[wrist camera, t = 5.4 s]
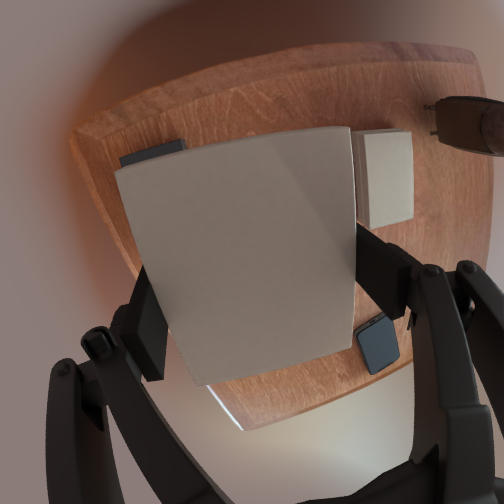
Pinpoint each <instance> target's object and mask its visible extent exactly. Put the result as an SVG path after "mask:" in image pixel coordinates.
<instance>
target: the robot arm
mask: <svg viewBox="0 0 504 504" xmlns="http://www.w3.org/2000/svg"><path fill="white" fill-rule="evenodd" d="M356 281H357V283H358V284H359V285H360V286H361V287H362V288H363V289H364V290H365V292H366V293H367V294H368V295H369V296H370V297H371V298H372V300H373V301H374V302H375V303H376V304H377V305H378V306H379V308H380V309H381V310H382V311H383V312H384V313H385V315H386V316H387V317H388V318H389V319H390V321H393V320H395V319H398V318H400V317H403V316H404V314H405V309H406V305H407V306H408V308H409V309H410V310H411V313H410V318H409V322H408V327H407V330H409V328H410V326H411V335H412V347H413V363H414V386H415V387H414V391H415V407H414V436H413V447H412V451H411V453H410V456H409V460H408V461H406V462H404V463H402V464H401V465H399V466H397V467H395V468H393V469H391V470H388V471H386V472H384V473H382V474H381V475H380V476H378V477H377V478H375V479H374V480H373V481H371V482H370V483H368V484H367V485H366V486H364V487H363V488H361V489H360V490H358V491H357V492H355V493H354V494H352V495H349V496H344V497H336V498H327V499H317V500H308V501H305V502H301V503H297V504H504V479H502V478H498V477H495V460H494V459H495V457H494V440H493V428H492V421H491V420H492V419H491V413H490V409H489V407H488V406H487V405H481V404H480V402H479V397H478V391H477V385H476V379H475V374H474V369H473V365H474V367H475V369H476V371H477V373H478V375H479V377H480V380H481V382H482V384H483V386H484V389H485V391H486V393H487V396H488V398H489V401H490V403H491V405H492V408H493V411H494V413H495V416H496V418H497V421H498V424H499V427H500V430H501V433H502V435H503V438H504V294H503V293H502V292H501V290H500V289H499V288H498V287H497V285H496V284H495V283H494V282H493V281H492V280H491V279H490V277H489V276H488V275H487V274H486V273H485V272H484V271H483V270H482V268H481V267H480V266H479V265H477V264H476V263H474V262H472V261H469V260H463V261H459V262H458V263H457V267H456V271H450V272H445V271H444V270H443V269H442V268H441V267H439V266H437V265H434V264H424V265H423V264H422V263H420V262H419V261H418V260H416V259H415V258H414V257H412V256H411V255H409V254H408V253H407V252H406V251H404V250H403V249H402V248H400V247H399V246H398V245H395V244H392V243H385V242H383V241H382V240H381V239H379V238H378V237H377V236H375V235H374V234H372V233H371V232H370V231H368V230H367V229H366V228H364V227H363V226H361V225H360V224H359V223H357V222H356ZM472 302H474V304H475V309H473V308H472V306H471V305H472ZM167 334H168V324H167V322H166V319H165V317H164V315H163V312H162V310H161V308H160V305H159V303H158V300H157V298H156V295H155V293H154V290H153V288H152V285H151V283H150V281H149V279H148V276H147V274H146V271H145V268H144V265H142V268H141V270H140V273H139V276H138V279H137V282H136V284H135V287H134V290H133V294H132V296H131V299H130V302H129V304H126V305H121V306H120V307H119V308H118V309H117V311H116V312H115V314H114V316H113V321H112V322H111V326H110V328H109V329H108V328H107V327H104V326H99V327H95V328H92V329H91V330H89V331H88V332H86V334H85V335H84V336H83V337H82V339H81V346H82V347H83V349H84V350H85V352H86V353H87V355H88V356H89V358H90V359H91V360H89V361H87V362H84V363H81V364H79V365H77V364H76V363H75V361H73V360H72V359H70V358H65V359H62V360H60V361H58V362H57V363H56V364H55V365H54V367H53V368H52V371H51V374H50V382H49V391H48V402H47V415H46V476H47V489H48V499H49V504H125V502H124V498H123V495H122V491H121V487H120V483H119V479H118V474H117V470H116V465H115V460H114V455H113V450H112V444H111V438H110V431H109V424H108V417H107V408H106V405H108V406H109V408H110V410H111V413H112V415H113V417H114V419H115V422H116V424H117V426H118V428H119V430H120V432H121V434H122V436H123V438H124V440H125V442H126V444H127V446H128V448H129V450H130V452H131V454H132V456H133V457H134V459H135V461H136V463H137V464H138V466H139V468H140V470H141V471H142V473H143V475H144V476H145V478H146V480H147V481H148V483H149V484H150V486H151V488H152V489H153V491H154V492H155V494H156V495H157V497H158V498H159V500H160V501H161V503H162V504H234V502H233V501H232V500H231V499H229V497H228V496H227V495H226V494H225V493H224V492H223V491H222V490H221V489H220V488H219V487H218V485H217V484H216V483H215V482H214V481H213V480H212V479H211V477H209V475H208V474H207V473H206V472H205V471H204V469H203V468H202V467H201V466H200V465H199V463H198V462H197V461H196V460H195V458H194V457H193V456H192V455H191V453H190V452H189V451H188V450H187V448H186V447H185V446H184V444H183V443H182V442H181V441H180V439H179V438H178V436H177V435H176V434H175V432H174V431H173V429H172V428H171V427H170V425H169V424H168V422H167V421H166V419H165V418H164V417H163V415H162V414H161V412H160V411H159V409H158V408H157V406H156V405H155V403H154V401H153V400H152V398H151V397H150V395H149V394H148V392H147V390H146V389H145V387H144V385H143V384H142V383H141V376H142V374H143V376H144V378H145V379H146V381H147V382H151V381H158V380H164V367H165V356H166V345H167ZM472 363H473V365H472Z"/></svg>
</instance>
